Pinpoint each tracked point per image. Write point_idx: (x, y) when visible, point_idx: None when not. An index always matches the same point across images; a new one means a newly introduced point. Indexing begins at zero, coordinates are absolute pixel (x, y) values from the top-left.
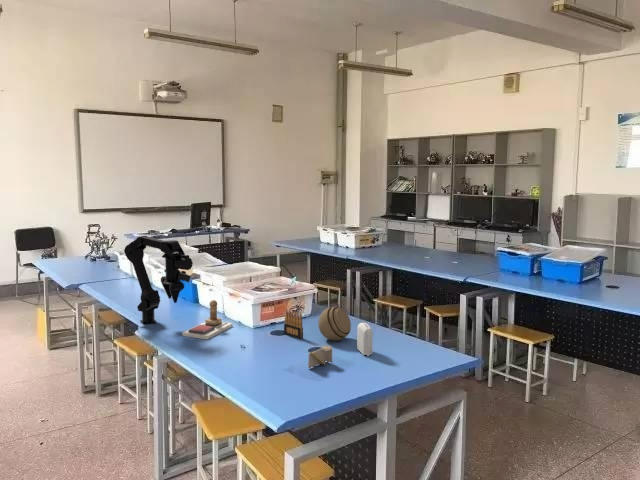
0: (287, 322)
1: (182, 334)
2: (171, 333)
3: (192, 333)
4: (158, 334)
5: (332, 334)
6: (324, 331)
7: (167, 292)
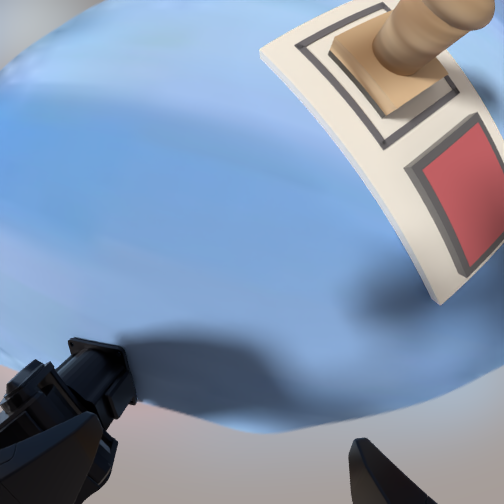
0: None
1: (435, 300)
2: (362, 340)
3: None
4: (338, 395)
5: None
6: None
7: (70, 488)
